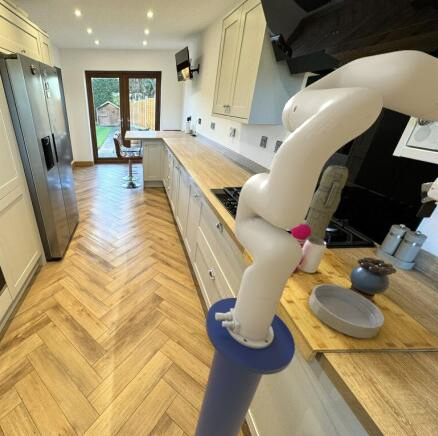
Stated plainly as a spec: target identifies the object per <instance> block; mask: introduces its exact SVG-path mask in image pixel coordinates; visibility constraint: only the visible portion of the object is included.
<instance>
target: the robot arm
mask: <svg viewBox="0 0 438 436" xmlns="http://www.w3.org/2000/svg"><path fill="white" fill-rule="evenodd" d="M383 108H385V109H388V110H391V111H394V112H398V113H401V114H404V115H405V116H409V117H412V118H415V119H418V120H423V121H430V122H438V57H435V56H433V55H430V54H429V53H425V52H424V51H419V50H412V49H411V50H409V49H408V50H398V51H392V52H386V53H380V54H375V55H371V56H365V57H364V56H363V57H360V58H357V59H355V60H352V61H350V62H348V63H346V64H344V65H342V66H340V67H338V68H337V69H335V70H334V71H332V72H330V73H328V74H327V75H325V76H323V77H322V78H320V79H318V80H317V81H314V82H313V83H311V84H310V85H308V86H306V87H304V88H303V89H301V90H299V91H298V92H297V93H295V94H294V95H293V96H292V97H291V98H290V99H288V101H287V102H286V103H285V105H284V107H283V110H282V113H281V122H282V125H283V127H284V128H285V129H286V130H287V131H288V132H289V133H290V135H289V136H288V137H287V138H286V139H285V140H284V141H283V142H282V143H281V144H280V146H279V147H278V149H277V151H276V152H275V155H274V157H273V160H272V164H271V166H270V167H271V168H270V171H269V172H260V173H256V174H254V175H253V176H251V177H250V178H249V179H247V181H245V183H244V184H243V186H242V188H241V190H240V193H239V197H238V202H237V208H236V214H235V221H234V229H233V231H234V236H235V239H236V240H237V242H238V243H239V244H240V245H241V246H242V247H243V249H244V250H245V251H246V252H247V253H248V254H249V255H250V256H251V258H252V260H253V262H252V264H251V265H249V266H247V267H246V269H245V270H244V272H243V274H242V277H241V282H240V286H239V290H238V294H237V297H236V298H237V301H236V304H235V308H234V309H232V308H231V309H230V312H226V314H224V313H215V318H216V320H225V321H222V326H223V327H226V328H227V330H228V332H229V333H230V335H231V336H232V337H233V338H234V339H235V340H236V341H238V342H239V343H241V344H243V345H245V346H247V347H250V348H255V349H261V348H265V347H267V346H269V345H270V344H271V342H272V340H273V337H274V333H273V329H272V327H271V323H272V321H273V318H274V315H275V314H276V312H277V310H278V308H279V305H280V302H281V299H282V296H283V294H284V291H285V289H286V286H287V283H288V282H289V280H290V278H291V276H292V275H293V271H294V270H295V269H296V267H297V266H298V264H299V263H300V261H301V259H302V256H303V251H302V249H303V247H301V245H300V244H299V242H298V241H297V240H296V239H295V238H294V237H293V236H292V235H291V234H292V233H289V232H288V231H286V230H291V229H293V228H295V227H298V226H299V225H300V224H301V223H302V222H303V221H304V220H306V218H307V216H308V213H309V211H310V204H311V201H312V199H313V196H314V194H315V192H316V188H317V184H318V182H319V179H320V175H321V173H322V170H323V168H324V166H325V165H326V163H327V162H328V160H329V159H330V157H332V156H333V155H334V154H335V153H336V152H337V151H338V150H339V149H341V148H342V147H344V146H345V145H346V144H348V143H350V142H351V141H352V140H354V139H356V138H357V137H359V136H361V135H362V134H363V133H365V132H366V131H367V130H369V129H370V128H371V127H372V125H373V124H374V123H375V122H376V121H377V119H378V117H379V116H380V114H381V112H382V110H383ZM420 196H421V203H422V204H421V206H420V208H419V209H418V211H417V214H416V215H415V217H416V218H420V219H421V218H422V219H429V218H431V216H432V215H433V213H434V211H435V210H436V208H437V207H438V177H437V178H436V179H435V180H434V182H426V183H423V184H421V192H420Z"/></svg>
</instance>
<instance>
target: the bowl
mask: <svg viewBox="0 0 438 436" xmlns="http://www.w3.org/2000/svg"><path fill="white" fill-rule="evenodd" d="M308 297H309V298H308V302H307V303H308V306H309V308H310V310H311V311H312V313H313V314H314V316H316V317H317V318H318V319H319V320H320V321H321V322H322V323H324V324H325V325H327V326H328V327H329V328H332V329H333V330H335V331H336V332H340V333H342V334H344V335H347V336H350V337H353V338H358V339H369V338H372V337H376V335H377V334H378V332H379V331H380V329H381V328H382V326H383V325H384V323H385V316H384V314H383V312H382V311H381V309H380V308H379V307H378V305H376V304H375V303H374V302H372V301H370V300H368V299H367V298H365V297H364V296H362V295H360V294H358V293H356V292H354V291H352V290H350V289H349V288H347V287H344V286H342V285H337V284H332V283H321V284H317V285H315V286H314V287H313V288H312V291H311V293H310V295H309V296H308Z"/></svg>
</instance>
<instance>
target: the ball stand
mask: <svg viewBox="0 0 438 436" xmlns="http://www.w3.org/2000/svg"><path fill="white" fill-rule="evenodd" d="M375 267H377V265H375ZM349 281H350V283H351V284H350V285H349V288H348V289H350V290H352V291H354V292H356V293H358V294H360V295H362V296H364V297H365V298H367V299H368V300H370V301H371V302H372V301H373V299H374V298H375V296H376V295H380V294H382V293H384V292H385V291H387V289H389V286H390V277H389V275H380V274H378V273H371V272H369V271H368V269H364V268H361V267H360V265H358V266H356V267H354V268H353V269H352V270H351V272H350V274H349Z"/></svg>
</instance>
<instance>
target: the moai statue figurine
mask: <svg viewBox="0 0 438 436" xmlns="http://www.w3.org/2000/svg"><path fill="white" fill-rule="evenodd" d="M348 177H349V168H348V167H346V166H344V165H339V164H331V165H328V167H327V168H326V169H325V170H324V171H323V173H322V177H321V179H320V182H319V186H318V187H317V190H315V191H314V194H313V197H312V200H311V204H310V207H309V210H308V212H307V215H306V218H305V220H306V221H307V224H306V225H308V226H309V227H310V228H311V235H310V236H309V237H315V238H319V239H322V240H324V241H325V238H326V231H327V229H328V227H329V225H330V222H331V219H332V217H333V215H334V213H336V212H337V210H338V207H339V204H340V202H341V194H342V190H343V189H344V188H345V184H346V182H347V180H348ZM309 237H307V240H308V238H309ZM304 244H305V243H304ZM304 244H303V246H304ZM303 246H302V248H303Z"/></svg>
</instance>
